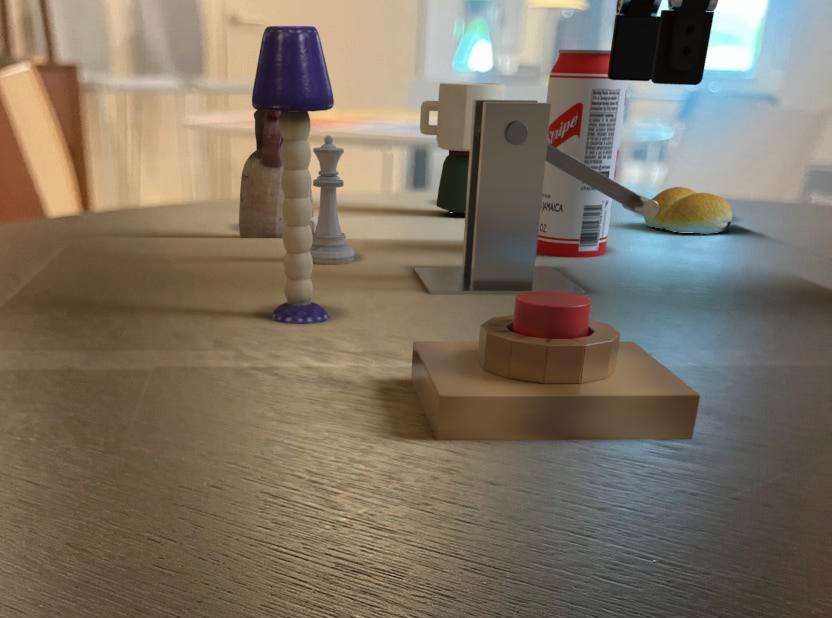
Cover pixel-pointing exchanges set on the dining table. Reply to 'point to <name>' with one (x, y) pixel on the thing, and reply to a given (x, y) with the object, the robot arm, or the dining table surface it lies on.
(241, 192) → the figurine
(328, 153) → the chess piece
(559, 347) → the button base
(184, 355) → the dining table surface
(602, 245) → the beer can
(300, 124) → the toy lamp
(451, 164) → the character mug
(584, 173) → the switch lever
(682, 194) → the bread roll
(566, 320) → the timer button
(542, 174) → the switch bracket
